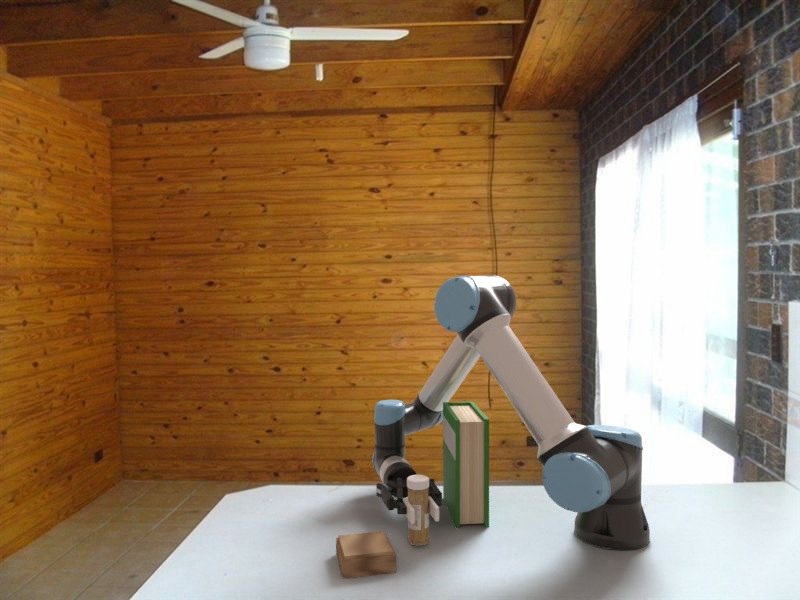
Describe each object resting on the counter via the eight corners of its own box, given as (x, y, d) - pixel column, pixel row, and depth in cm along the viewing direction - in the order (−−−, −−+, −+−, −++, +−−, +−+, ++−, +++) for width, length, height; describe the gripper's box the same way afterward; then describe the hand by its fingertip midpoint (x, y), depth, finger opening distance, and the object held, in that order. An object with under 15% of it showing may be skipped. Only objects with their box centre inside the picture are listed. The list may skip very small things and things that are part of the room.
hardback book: (489, 527, 139) (489, 419, 138) (455, 528, 139) (455, 420, 137) (472, 497, 157) (472, 401, 155) (443, 498, 156) (442, 402, 155)
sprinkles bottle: (434, 542, 130) (433, 478, 129) (415, 548, 127) (415, 482, 127) (421, 534, 134) (420, 472, 133) (403, 540, 131) (402, 476, 130)
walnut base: (385, 548, 129) (385, 529, 129) (396, 572, 119) (395, 551, 119) (336, 554, 127) (336, 534, 126) (343, 578, 117) (342, 557, 117)
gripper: (434, 489, 150) (467, 529, 127) (362, 496, 146) (382, 539, 123) (434, 458, 149) (466, 493, 127) (361, 464, 145) (381, 501, 123)
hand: (425, 515), depth 125 cm, fingers closed on sprinkles bottle, 4 cm apart
